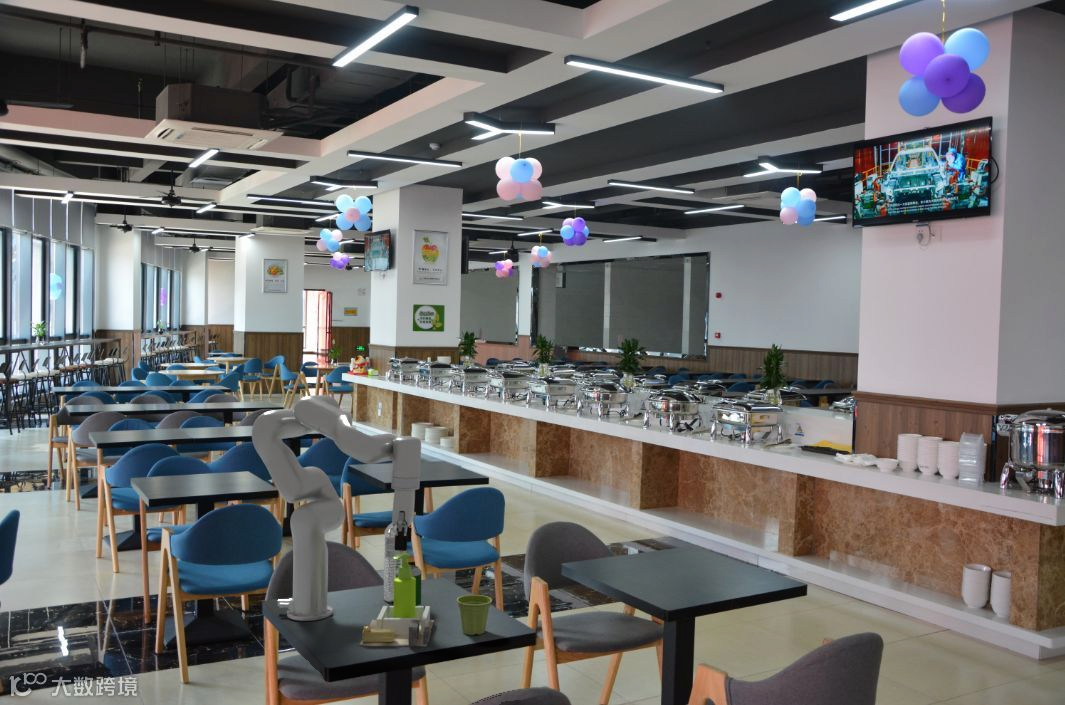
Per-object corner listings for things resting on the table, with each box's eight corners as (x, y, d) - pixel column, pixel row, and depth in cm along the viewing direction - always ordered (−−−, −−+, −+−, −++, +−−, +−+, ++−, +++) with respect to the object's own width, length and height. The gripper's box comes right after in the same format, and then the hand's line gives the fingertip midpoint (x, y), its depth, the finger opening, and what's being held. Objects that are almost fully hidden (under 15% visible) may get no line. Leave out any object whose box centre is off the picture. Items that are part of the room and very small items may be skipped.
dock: (376, 634, 222) (376, 619, 222) (383, 620, 234) (383, 605, 234) (425, 634, 222) (425, 619, 222) (429, 620, 234) (430, 606, 234)
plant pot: (468, 624, 233) (468, 592, 233) (497, 629, 229) (498, 597, 229) (449, 633, 225) (450, 601, 225) (479, 639, 220) (480, 606, 220)
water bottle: (399, 595, 260) (400, 513, 260) (410, 600, 254) (411, 517, 255) (379, 599, 255) (380, 516, 255) (390, 604, 250) (392, 520, 250)
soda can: (423, 605, 249) (424, 565, 249) (417, 613, 242) (418, 571, 242) (398, 604, 250) (399, 564, 250) (392, 612, 243) (392, 570, 243)
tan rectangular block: (362, 641, 215) (362, 628, 215) (363, 638, 218) (363, 625, 218) (393, 641, 215) (393, 628, 215) (394, 638, 218) (395, 625, 218)
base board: (358, 647, 213) (359, 627, 213) (372, 621, 234) (372, 602, 234) (427, 647, 214) (427, 627, 214) (434, 621, 235) (435, 603, 235)
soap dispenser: (385, 629, 226) (386, 554, 226) (403, 622, 232) (404, 549, 232) (402, 633, 223) (402, 557, 223) (419, 626, 229) (420, 552, 229)
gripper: (396, 477, 237) (393, 538, 237) (387, 487, 219) (384, 553, 220) (422, 478, 237) (420, 539, 237) (416, 488, 220) (413, 554, 220)
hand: (403, 545), depth 228 cm, fingers open, 9 cm apart
